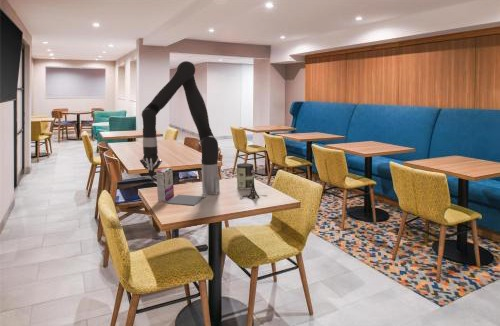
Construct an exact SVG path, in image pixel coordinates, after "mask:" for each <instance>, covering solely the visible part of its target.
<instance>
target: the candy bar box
mask: <svg viewBox="0 0 500 326" xmlns="http://www.w3.org/2000/svg"><path fill="white" fill-rule="evenodd" d="M173 173H174V172H173V167H162V169H159V170H157V171H155V175H156V176H155V177H156V186H157V201H158V202H166V201H168V200H170V199H171V198H173V197H175V192H174V191H175V190H174V189H175V188H174V174H173Z"/></svg>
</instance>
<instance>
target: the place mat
mask: <svg viewBox="0 0 500 326" xmlns="http://www.w3.org/2000/svg"><path fill="white" fill-rule="evenodd" d="M206 198H207V196H201V195H190V194H177V195H174V196H173V197H172V198H170V199H169V200H167V201H164V204H170V205H171V204H172V205H181V206H182V205H183V206H193V207H194V206H196V205H197V204H199V203H200V202H202V201H203V200H205V199H206Z"/></svg>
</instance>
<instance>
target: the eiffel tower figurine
mask: <svg viewBox="0 0 500 326" xmlns="http://www.w3.org/2000/svg"><path fill="white" fill-rule="evenodd" d="M260 196H262V197H268V194H258V192H257V190H256V188H255V176H253V184H252V189H251V190H250V192H249V194H244V195H242V196H241V197H240V198H239V200H243V199H244V198H246V199H251V200H257V199H260V198H261V197H260Z"/></svg>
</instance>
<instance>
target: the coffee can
mask: <svg viewBox="0 0 500 326" xmlns="http://www.w3.org/2000/svg"><path fill="white" fill-rule="evenodd" d="M253 177H254V163H247V162H246V163H244V162H243V163H237V164H236V188H237V189H239V190H250V189H251V190H252V184H253Z"/></svg>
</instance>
